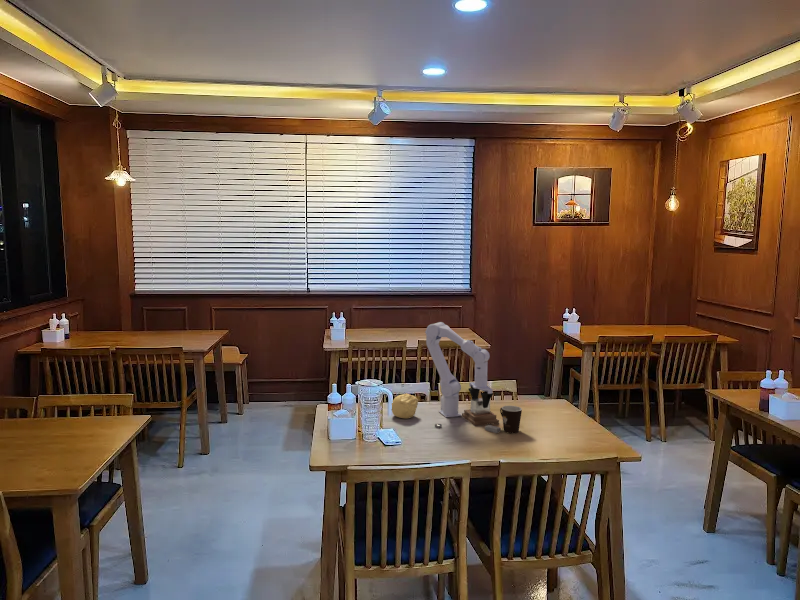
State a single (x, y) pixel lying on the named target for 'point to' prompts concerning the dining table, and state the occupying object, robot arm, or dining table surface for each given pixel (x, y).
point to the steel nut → (438, 425)
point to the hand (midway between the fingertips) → (480, 405)
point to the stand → (480, 418)
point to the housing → (479, 407)
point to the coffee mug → (511, 418)
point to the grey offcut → (493, 428)
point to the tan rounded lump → (404, 406)
